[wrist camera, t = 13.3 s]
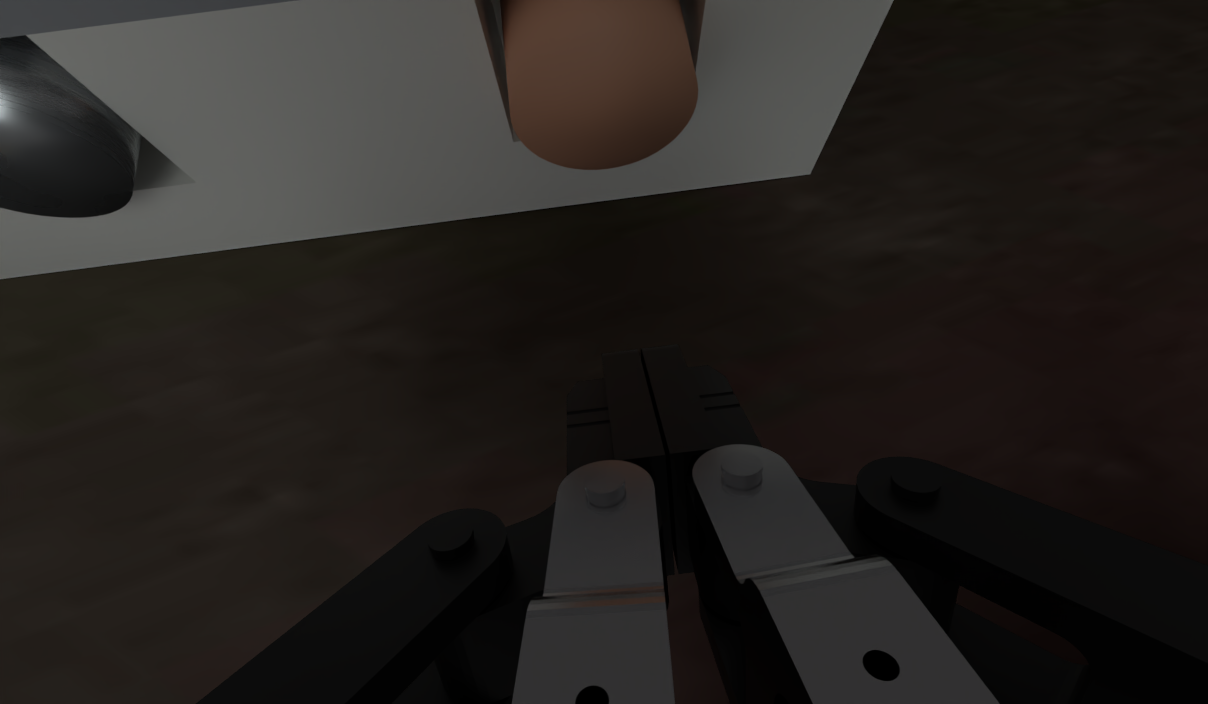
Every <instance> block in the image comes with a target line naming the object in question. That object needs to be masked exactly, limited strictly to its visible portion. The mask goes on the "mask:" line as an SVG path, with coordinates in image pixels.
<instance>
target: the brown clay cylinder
mask: <svg viewBox="0 0 1208 704" xmlns="http://www.w3.org/2000/svg"><path fill="white" fill-rule="evenodd" d="M500 8H501V19H502V30H503V41H504V52H505V63H506V75H507V86H508V97H509V108H510V117H511V123H512V125H513V128H514V131H515V133H516V134H517V136H518V138H519V139H520V141H521V142H522V143H523V144H524V145H525V146H526V147H527V148H528V149H529V150H530V151H531V152H533V153H534V154H536V155H537V156H538V157H540V158H542V159H544V160H546V161H548V162H551V163H553V164H556V165H559V166H563V167H567V168H573V169H582V170H601V169H610V168H616V167H621V166H624V165H628V164H631V163H634V162H637V161H640V160H642V159H644V158H647V157H649V156H651V155H652V154H654V153H656V152H658V151H659V150H661V149H662V148H664V147H665V146H667V145H668V144H669V143H670V142H672V141H673V140H674V139H675V138H676V137H677V136H678V135H679V134H680V133H681V132H682V131H683V129H684V128H685V127H686V125H687V124H688V122H689V121H690V119H691V117H692V115H693V113H694V110H695V108H696V104H697V100H698V83H697V78H696V73H695V69H694V64H693V60H692V55H691V51H690V46H689V42H688V37H687V33H686V28H685V24H684V19H683V15H682V10H681V6H680V2H679V0H500Z"/></svg>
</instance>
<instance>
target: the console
mask: <svg viewBox="0 0 1208 704" xmlns="http://www.w3.org/2000/svg"><path fill="white" fill-rule="evenodd" d="M679 2H680V6H681V10H682V15H683V19H684V24H685V28H686V33H687V37H688V42H689V46H690V51H691V55H692V60H693V64H694V69H695V73H696V78H697V83H698V100H697V104H696V108H695V110H694V113H693V115H692V117H691V119H690V121H689V122H688V124H687V125H686V127H685V128H684V129H683V131H682V132H681V133H680V134H679V135H678V136H677V137H676V138H675V139H674V140H673V141H672V142H670V143H669V144H668V145H667V146H665V147H664V148H662V149H661V150H659V151H658V152H656V153H654V154H652V155H651V156H649V157H647V158H644V159H642V160H640V161H637V162H634V163H631V164H628V165H624V166H621V167H616V168H610V169H601V170H582V169H573V168H567V167H563V166H559V165H556V164H553V163H551V162H548V161H546V160H544V159H542V158H540V157H538V156H537V155H536V154H534V153H533V152H531V151H530V150H529V149H528V148H527V147H526V146H525V145H524V144H523V143H522V142H521V141H520V139H519V138H518V136H517V134H516V133H515V131H514V128H513V125H512V123H511V117H510V108H509V97H508V86H507V75H506V63H505V52H504V41H503V30H502V19H501V8H500V0H0V38H6V37H14V36H22V35H26V36H27V37H28V38H30V39H31V40H32V41H33V42H34V43H35V44H37V45H38V46H39V47H40V48H41V49H42V50H43V51H45V52H46V53H47V54H48V55H49V56H50V57H52V58H53V59H54V60H55V61H56V62H57V63H59V64H60V65H61V66H62V67H63V68H64V69H66V70H67V71H68V72H69V73H70V74H71V75H72V76H74V77H75V78H76V79H77V80H78V81H79V82H81V83H82V84H83V85H84V86H85V87H86V88H88V89H89V90H90V91H91V92H92V93H93V94H94V95H96V96H97V97H98V98H99V99H100V100H101V101H103V102H104V103H105V104H106V105H107V106H108V107H110V108H111V109H112V110H113V111H114V112H115V113H116V114H118V115H119V116H120V117H121V118H122V119H123V120H125V121H126V122H127V123H128V124H129V125H130V126H132V127H133V128H134V129H135V130H136V131H137V132H139V133H140V134H141V135H142V138H141V145H140V151H139V157H138V163H137V169H136V176H135V182H134V188H133V194H132V197H131V199H130V201H129V202H128V203H127V204H126V205H125V206H124V207H123V208H121V209H119V210H117V211H115V212H112V213H109V214H105V215H101V216H95V217H84V218H63V217H49V216H40V215H34V214H27V213H22V212H17V211H12V210H8V209H3V208H0V279H5V278H13V277H21V276H28V275H36V274H44V273H52V272H59V271H67V270H75V269H83V268H90V267H98V266H106V265H113V264H121V263H129V262H137V261H144V260H152V259H160V258H167V257H175V256H183V255H191V254H198V253H206V252H214V251H221V250H229V249H237V248H245V247H252V246H260V245H268V244H275V243H283V242H291V241H299V240H306V239H314V238H322V237H329V236H337V235H345V234H353V233H360V232H368V231H376V230H384V229H391V228H399V227H407V226H414V225H422V224H430V223H438V222H445V221H453V220H461V219H468V218H476V217H484V216H492V215H499V214H507V213H515V212H522V211H530V210H538V209H546V208H553V207H561V206H569V205H576V204H584V203H592V202H600V201H607V200H615V199H623V198H630V197H638V196H646V195H654V194H661V193H669V192H677V191H685V190H692V189H700V188H708V187H715V186H723V185H731V184H739V183H746V182H754V181H762V180H769V179H777V178H785V177H793V176H800V175H808V174H810V173H811V171H812V169H813V167H814V165H815V163H816V161H817V159H818V157H819V154H820V152H821V150H822V148H823V146H824V144H825V142H826V140H827V138H828V136H829V134H830V132H831V129H832V127H833V125H834V123H835V121H836V119H837V117H838V115H839V113H840V111H841V109H842V107H843V104H844V102H845V100H846V98H847V96H848V94H849V92H850V90H851V88H852V86H853V84H854V82H855V79H856V77H857V75H858V73H859V71H860V69H861V67H862V65H863V63H864V61H865V59H866V57H867V54H868V52H869V50H870V48H871V46H872V44H873V42H874V40H875V38H876V36H877V34H878V31H879V29H880V27H881V25H882V23H883V21H884V19H885V17H886V15H887V13H888V11H889V9H890V6H891V4H892V2H893V0H679Z"/></svg>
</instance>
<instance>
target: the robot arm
mask: <svg viewBox="0 0 1208 704" xmlns="http://www.w3.org/2000/svg"><path fill="white" fill-rule="evenodd" d="M602 361H603V370H604V378H602V379H594V380H586V381H578V382H577V383H576V384H575V386H574V387H573V389H572V390H571V391H570V393H569V394H568V396H567V477H565V479H564V480H563V481H562V482H561V484H560V486H559V488H558V492H557V497H556V502H555V503H554V504H553V505H551V506H550V507H549V508H548V509H546V510H545V511H543V512H541V513H540V514H538V515H536V516H534V517H532V518H529V519H527V520H524V521H521V522H519V523H516V524H513V525H511V526H508V527H505V526H504V524H503V523H502V521H501V520H500V519H499V518H498V517H497V516H496V515H494V514H492V513H491V512H488V511H485V510H480V509H459V510H454V511H450V512H447V513H443V514H441V515H439V516H436V517H434V518H432V519H430V520H429V521H427V522H425V523H424V524H422V525H421V526H420V527H418V528H417V529H416V530H414V531H413V532H412V533H411V534H409V535H408V536H407V537H406V538H404V539H403V540H402V541H401V542H399V543H398V544H397V545H396V546H394V547H393V548H392V549H391V550H389V551H388V552H387V553H385V554H384V555H383V556H382V557H380V558H379V559H378V560H377V561H375V562H374V563H373V564H372V565H370V566H369V567H368V568H367V569H365V570H364V571H363V572H361V573H360V574H359V575H358V576H356V577H355V578H354V579H353V580H351V581H350V582H349V583H348V584H346V585H345V586H344V587H343V588H341V589H340V590H339V591H338V592H336V593H335V594H334V595H332V596H331V597H330V598H329V599H327V600H326V601H325V602H324V603H322V604H321V605H320V606H319V607H317V608H316V609H315V610H314V611H312V612H311V613H310V614H308V615H307V616H306V617H305V618H303V619H302V620H301V621H300V622H298V623H297V624H296V625H295V626H293V627H292V628H291V629H290V630H288V631H287V632H286V633H285V634H283V635H282V636H281V637H279V638H278V639H277V640H276V641H274V642H273V643H272V644H271V645H269V646H268V647H267V648H266V649H264V650H263V651H262V652H261V653H259V654H258V655H257V656H256V657H254V658H253V659H252V660H250V661H249V662H248V663H247V664H245V665H244V666H243V667H242V668H240V669H239V670H238V671H237V672H235V673H234V674H233V675H232V676H230V677H229V678H228V679H226V680H225V681H224V682H223V683H221V684H220V685H219V686H218V687H216V688H215V689H214V690H213V691H211V692H210V693H209V694H208V695H206V696H205V697H204V698H203V699H201V700H200V701H199V702H197V703H196V704H675V699H674V688H673V678H672V667H671V656H670V646H669V635H668V624H667V614H666V611H667V609H668V603H669V596H668V585H667V576H668V575H675V574H674V561H673V551H674V555H675V560H676V564H677V569H678V573H679V574H682V573H690V572H694V573H695V576H696V580H697V584H698V589H699V608H700V616H701V620H702V622H703V625H704V628H705V631H706V634H707V637H708V640H709V643H710V646H711V649H712V652H713V655H714V658H715V661H716V664H717V667H718V670H719V673H720V676H721V679H722V681H723V684H724V687H725V690H726V693H727V696H728V699H729V702H730V704H1208V566H1207V565H1205V564H1202V563H1199V562H1197V561H1194V560H1191V559H1189V558H1186V557H1183V556H1181V555H1178V554H1175V553H1173V552H1170V551H1167V550H1165V549H1162V548H1159V547H1157V546H1154V545H1151V544H1149V543H1146V542H1143V541H1141V540H1138V539H1135V538H1133V537H1130V536H1127V535H1125V534H1122V533H1119V532H1117V531H1114V530H1112V529H1109V528H1106V527H1104V526H1101V525H1098V524H1096V523H1093V522H1090V521H1088V520H1085V519H1082V518H1080V517H1077V516H1074V515H1072V514H1069V513H1066V512H1064V511H1061V510H1058V509H1056V508H1053V507H1050V506H1048V505H1045V504H1042V503H1040V502H1037V501H1034V500H1032V499H1029V498H1027V497H1024V496H1021V495H1019V494H1016V493H1013V492H1011V491H1008V490H1005V489H1003V488H1000V487H997V486H995V485H992V484H989V483H987V482H984V481H981V480H979V479H976V478H973V477H971V476H968V475H965V474H963V473H960V472H957V471H955V470H952V469H949V468H947V467H944V466H942V465H939V464H936V463H933V462H930V461H926V460H922V459H918V458H911V457H887V458H881V459H878V460H875V461H872V462H870V463H868V464H867V465H865V466H864V467H863V468H862V469H861V470H860V472H859V474H858V476H857V483H856V485H847V484H836V483H825V482H817V481H811V480H807V479H803V478H800V477H797V476H796V474H795V473H794V471H793V470H792V469H791V467H790V466H789V464H788V463H787V462H786V461H785V460H784V459H783V458H782V457H781V456H779V455H778V454H776V453H774V452H772V451H770V450H768V449H765V448H762V446H761V444H760V442H759V440H758V438H757V436H756V434H755V433H754V431H753V429H752V427H751V425H750V423H749V421H748V419H747V417H746V415H745V413H744V411H743V409H742V408H741V407H740V404H739V402H738V400H737V398H736V396H735V394H733V390H732V388H731V386H730V384H729V383H728V381H727V379H726V377H725V376H724V375H722V374H721V373H719V372H718V371H716V370H715V369H713V368H712V367H710V366H708V365H706V366H698V367H690V368H688V367H687V365H686V362H685V360H684V358H683V355H682V353H681V350H680V348H679V346H678V344H676V345H668V346H660V347H652V348H643V349H641V358H640V354H639V351H638V349H636V350H628V351H620V352H612V353H604V354H602ZM672 546H673V548H672ZM959 585H960V586H962V587H964V588H966V589H968V590H970V591H972V592H974V593H976V594H978V595H980V596H982V597H984V598H986V599H988V600H990V601H992V602H994V603H996V604H998V605H1000V606H1002V607H1004V608H1006V609H1008V610H1010V611H1012V612H1014V613H1016V614H1018V615H1020V616H1022V617H1024V618H1026V619H1028V620H1030V621H1032V622H1034V623H1036V624H1038V625H1040V626H1042V627H1044V628H1046V629H1048V630H1050V631H1052V632H1054V633H1056V634H1058V635H1060V636H1061V637H1063V638H1065V639H1066V640H1068V641H1069V642H1071V643H1072V644H1073V645H1074V646H1075V647H1077V648H1078V650H1079V651H1080V652H1081V653H1082V654H1083V655H1084V656H1085V658H1086V659H1087V661H1088V663H1089V664H1090V665H1079V664H1075V663H1071V662H1068V661H1066V660H1064V659H1061V658H1059V657H1058V656H1056V655H1054V654H1052V653H1050V652H1048V651H1046V650H1044V649H1042V648H1040V647H1038V646H1037V645H1035V644H1033V643H1031V642H1029V641H1027V640H1025V639H1023V638H1021V637H1019V636H1017V635H1015V634H1014V633H1012V632H1010V631H1008V630H1006V629H1004V628H1002V627H1000V626H998V625H996V624H994V623H993V622H991V621H989V620H987V619H985V618H983V617H981V616H979V615H977V614H975V613H973V612H972V611H970V610H968V609H966V608H964V607H962V606H960V605H958V604H956V598H957V593H958V589H959ZM414 680H415V681H414ZM413 681H414V682H413ZM412 682H413V683H412ZM411 683H412V684H411ZM410 684H411V685H410ZM409 685H410V686H409ZM408 686H409V687H408ZM407 687H408V688H407ZM406 688H407V689H406ZM405 689H406V690H405ZM404 690H405V691H404ZM403 691H404V692H403ZM402 692H403V693H402Z"/></svg>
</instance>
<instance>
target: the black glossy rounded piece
mask: <svg viewBox="0 0 1208 704" xmlns="http://www.w3.org/2000/svg"><path fill="white" fill-rule="evenodd" d="M141 138H142V135H141V134H140V133H139V132H137V131H136V130H135V129H134V128H133V127H132V126H130V125H129V124H128V123H127V122H126V121H125V120H123V119H122V118H121V117H120V116H119V115H118V114H116V113H115V112H114V111H113V110H112V109H111V108H110V107H108V106H107V105H106V104H105V103H104V102H103V101H101V100H100V99H99V98H98V97H97V96H96V95H94V94H93V93H92V92H91V91H90V90H89V89H88V88H86V87H85V86H84V85H83V84H82V83H81V82H79V81H78V80H77V79H76V78H75V77H74V76H72V75H71V74H70V73H69V72H68V71H67V70H66V69H64V68H63V67H62V66H61V65H60V64H59V63H57V62H56V61H55V60H54V59H53V58H52V57H50V56H49V55H48V54H47V53H46V52H45V51H43V50H42V49H41V48H40V47H39V46H38V45H37V44H35V43H34V42H33V41H32V40H31V39H30V38H28V37H27V36H26V35H22V36H14V37H6V38H0V208H3V209H8V210H12V211H17V212H22V213H27V214H34V215H40V216H49V217H63V218H84V217H95V216H101V215H105V214H109V213H112V212H115V211H117V210H119V209H121V208H123V207H124V206H125V205H126V204H127V203H128V202H129V201H130V199H131V197H132V194H133V188H134V182H135V176H136V169H137V163H138V157H139V151H140V145H141Z"/></svg>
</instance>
